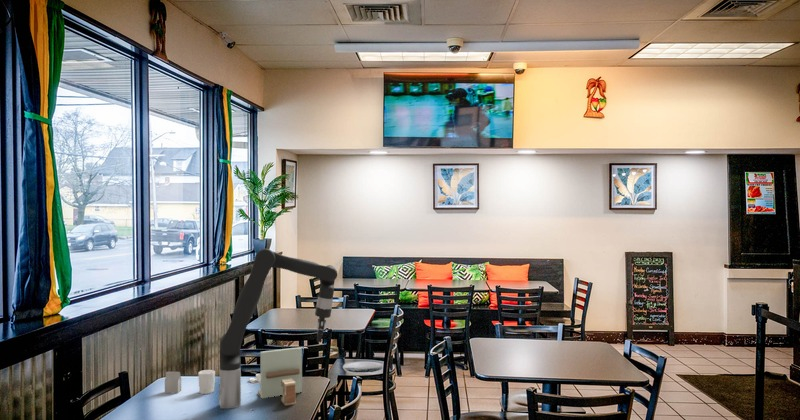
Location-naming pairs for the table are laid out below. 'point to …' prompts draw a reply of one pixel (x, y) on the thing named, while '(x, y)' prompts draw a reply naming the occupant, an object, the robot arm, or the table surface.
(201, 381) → the white cup
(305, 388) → the table surface
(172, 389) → the grey brown rectangular block
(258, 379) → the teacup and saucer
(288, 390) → the wall cabinet
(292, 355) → the wall board
